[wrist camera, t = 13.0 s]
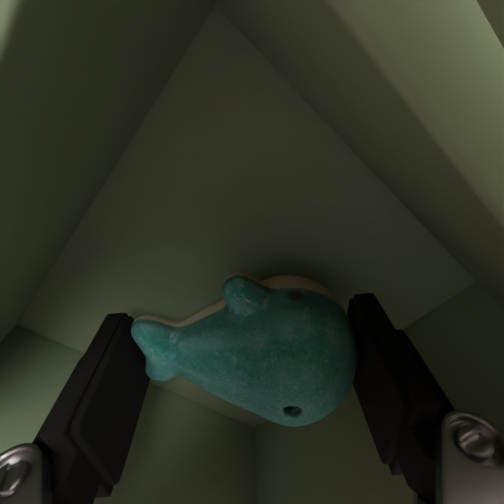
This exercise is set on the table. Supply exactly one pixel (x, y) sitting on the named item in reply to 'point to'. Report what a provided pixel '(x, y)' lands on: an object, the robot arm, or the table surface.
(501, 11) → the lid
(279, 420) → the whale figurine
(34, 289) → the green open box
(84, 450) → the robot arm
